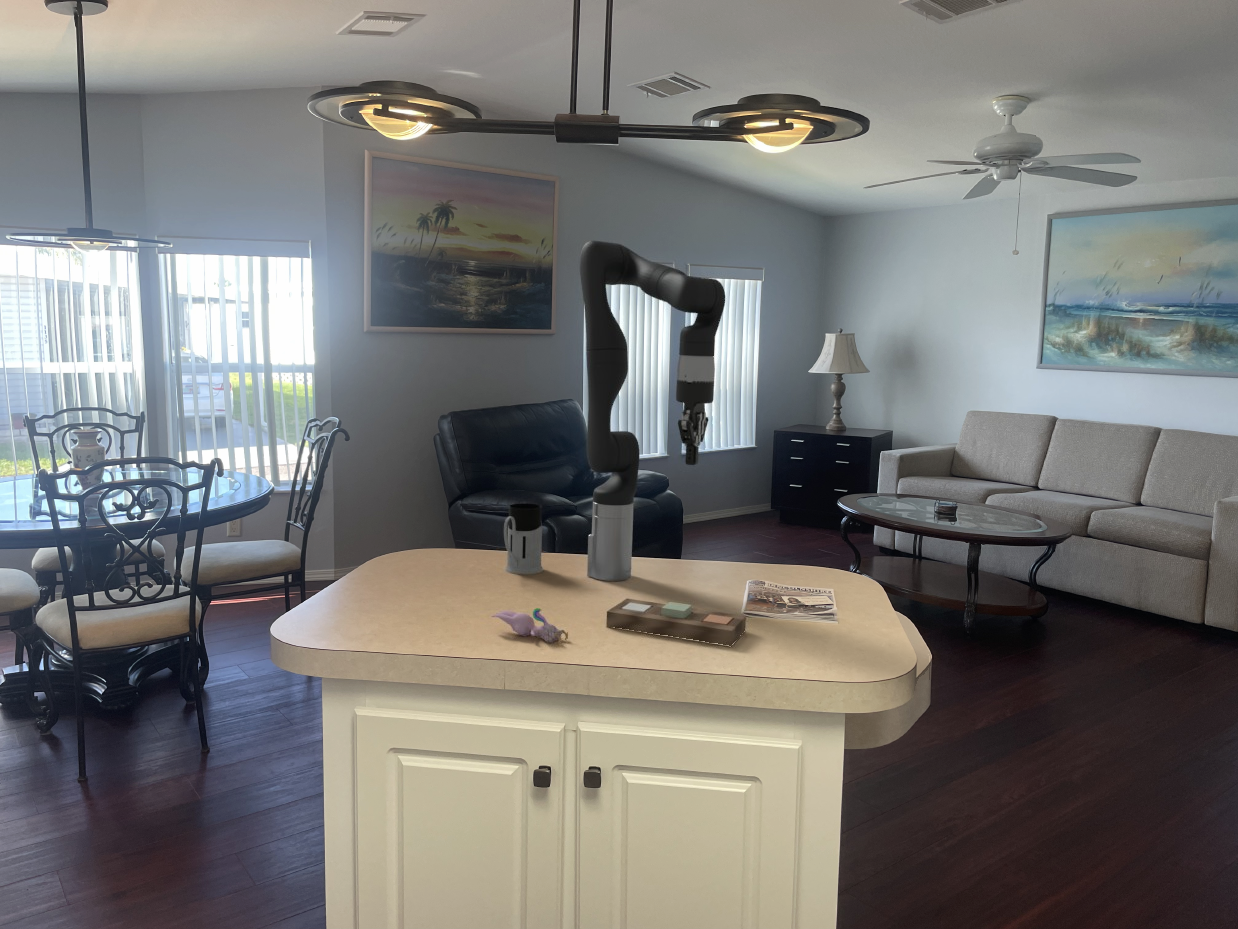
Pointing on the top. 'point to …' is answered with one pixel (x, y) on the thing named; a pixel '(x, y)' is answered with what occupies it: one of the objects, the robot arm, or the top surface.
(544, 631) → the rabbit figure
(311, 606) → the top surface
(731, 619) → the terracotta button
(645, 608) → the offwhite button
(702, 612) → the button panel
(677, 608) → the sage button
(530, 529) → the glass holder
